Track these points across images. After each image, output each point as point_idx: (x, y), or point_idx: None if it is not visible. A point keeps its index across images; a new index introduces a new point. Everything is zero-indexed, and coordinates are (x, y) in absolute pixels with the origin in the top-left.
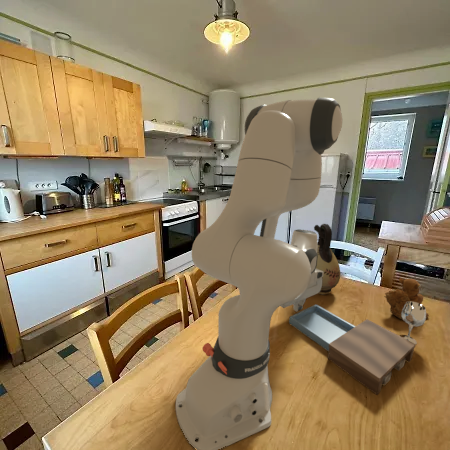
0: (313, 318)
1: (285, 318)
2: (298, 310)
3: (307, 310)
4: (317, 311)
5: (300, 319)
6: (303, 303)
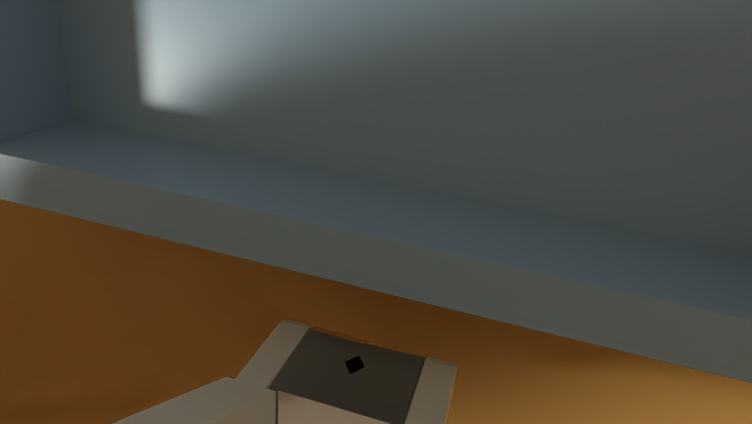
0: (317, 3)
1: (719, 417)
2: (414, 357)
3: (273, 211)
4: (68, 82)
5: (586, 190)
6: (198, 406)
